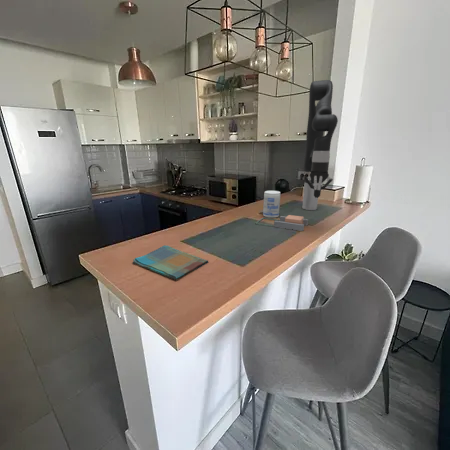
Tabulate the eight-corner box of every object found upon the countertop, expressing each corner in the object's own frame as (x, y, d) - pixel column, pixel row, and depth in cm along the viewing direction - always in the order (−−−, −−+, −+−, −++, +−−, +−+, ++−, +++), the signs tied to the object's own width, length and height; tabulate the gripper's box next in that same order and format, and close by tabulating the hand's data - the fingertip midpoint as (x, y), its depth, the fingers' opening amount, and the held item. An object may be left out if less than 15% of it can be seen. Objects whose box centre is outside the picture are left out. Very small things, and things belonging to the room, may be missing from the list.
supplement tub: (267, 218, 144) (268, 193, 140) (260, 214, 153) (261, 191, 148) (282, 217, 147) (283, 192, 142) (274, 213, 156) (275, 189, 151)
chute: (280, 220, 140) (280, 215, 139) (307, 224, 133) (308, 219, 132) (273, 226, 131) (274, 221, 130) (302, 231, 124) (303, 225, 123)
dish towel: (167, 249, 106) (166, 243, 106) (209, 263, 93) (209, 257, 93) (132, 264, 93) (131, 258, 92) (175, 283, 80) (175, 276, 79)
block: (287, 223, 136) (288, 214, 135) (302, 225, 133) (303, 216, 131) (284, 227, 130) (285, 218, 129) (300, 229, 127) (300, 220, 125)
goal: (262, 218, 145) (262, 217, 145) (279, 220, 141) (279, 219, 140) (255, 224, 136) (255, 223, 135) (272, 226, 131) (272, 225, 131)
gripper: (336, 160, 116) (332, 197, 122) (307, 160, 122) (304, 195, 128) (334, 161, 110) (330, 200, 115) (304, 161, 116) (301, 197, 122)
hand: (316, 197), depth 122 cm, fingers closed
